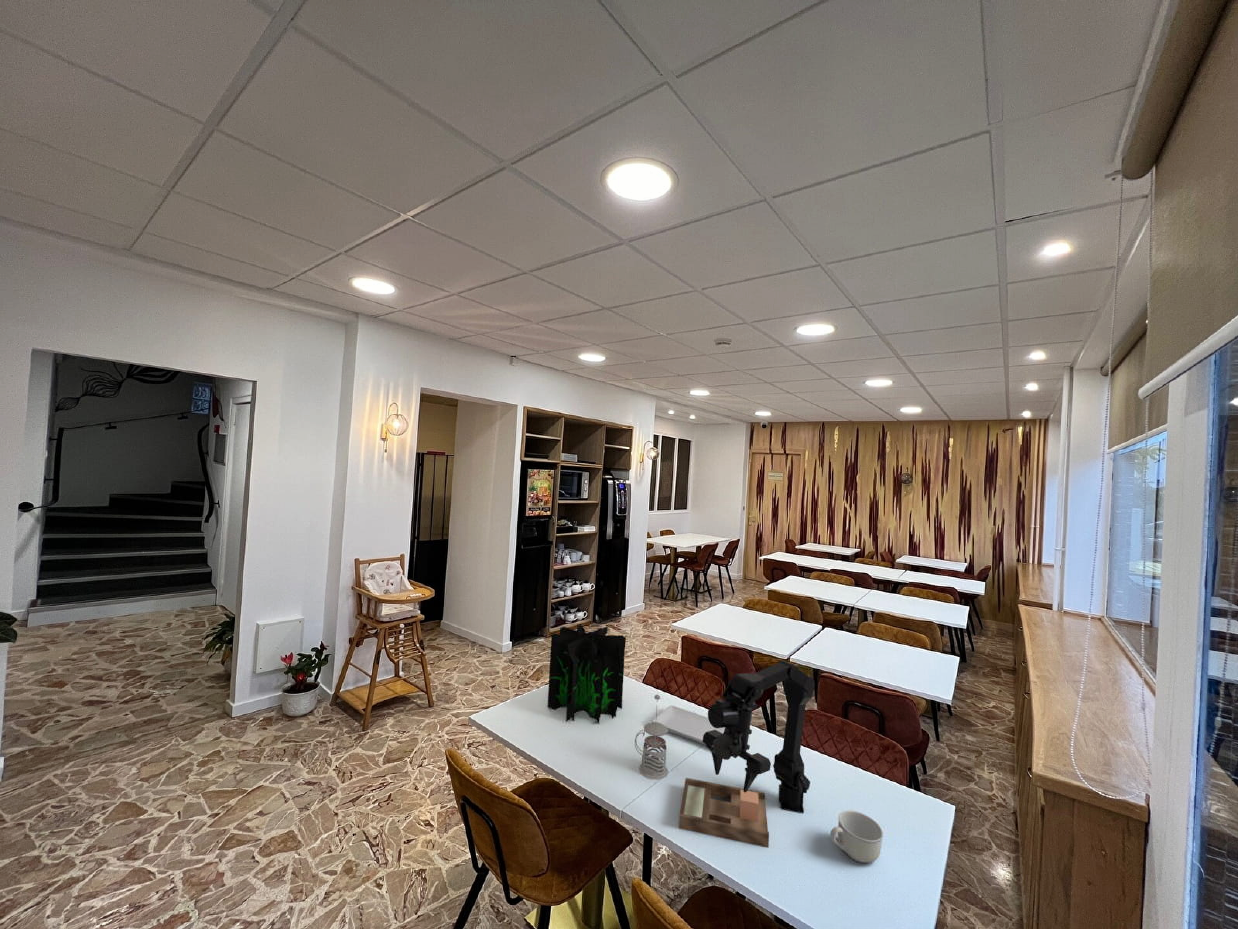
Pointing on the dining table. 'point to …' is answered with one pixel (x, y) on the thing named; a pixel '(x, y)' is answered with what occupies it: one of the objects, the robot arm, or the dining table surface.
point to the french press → (652, 764)
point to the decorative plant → (586, 672)
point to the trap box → (721, 813)
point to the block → (749, 805)
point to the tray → (686, 723)
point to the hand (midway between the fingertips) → (730, 783)
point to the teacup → (858, 836)
